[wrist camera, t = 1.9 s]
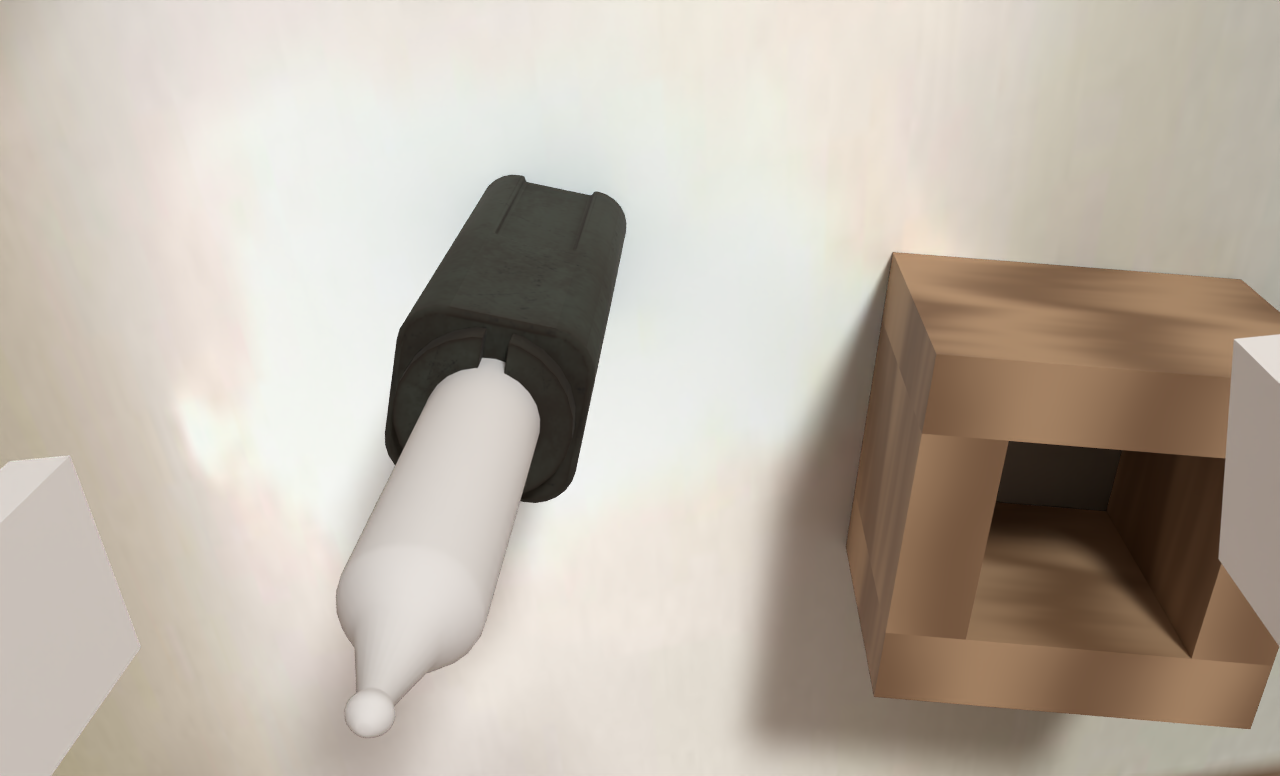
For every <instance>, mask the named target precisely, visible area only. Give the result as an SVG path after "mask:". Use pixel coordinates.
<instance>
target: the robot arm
mask: <svg viewBox="0 0 1280 776" xmlns="http://www.w3.org/2000/svg"><path fill="white" fill-rule="evenodd" d="M1218 559H1219V560H1220V562H1221V563H1222V565H1223V566H1224V568H1225V569H1226V570H1227V572H1228V573H1229V575H1230V576H1231V578H1232V579H1233V581H1234V582H1235V583H1236V585H1237V586H1238V588H1239V589H1240V591H1241V592H1242V594H1243V595H1244V596H1245V598H1246V599H1247V601H1248V602H1249V604H1250V605H1251V607H1252V608H1253V609H1254V611H1255V612H1256V614H1257V615H1258V617H1259V618H1260V619H1261V621H1262V622H1263V624H1264V625H1265V627H1266V628H1267V630H1268V631H1269V632H1270V634H1271V635H1272V637H1273V638H1274V640H1275V641H1276V643H1277V644H1278V645H1279V647H1280V334H1278V335H1268V336H1258V337H1248V338H1238V339H1234V344H1233V358H1232V372H1231V387H1230V401H1229V415H1228V429H1227V444H1226V458H1225V472H1224V486H1223V501H1222V515H1221V529H1220V543H1219V558H1218ZM140 648H141V646H140V643H139V641H138V638H137V635H136V632H135V630H134V627H133V624H132V622H131V619H130V616H129V613H128V611H127V608H126V605H125V603H124V600H123V597H122V594H121V592H120V589H119V586H118V584H117V581H116V578H115V575H114V573H113V570H112V567H111V565H110V562H109V559H108V556H107V554H106V551H105V548H104V546H103V543H102V540H101V537H100V535H99V532H98V529H97V527H96V524H95V521H94V518H93V516H92V513H91V510H90V508H89V505H88V502H87V499H86V497H85V494H84V491H83V489H82V486H81V483H80V480H79V478H78V475H77V472H76V470H75V467H74V464H73V461H72V459H71V456H70V455H68V456H58V457H48V458H38V459H28V460H18V461H9V462H8V463H7V464H6V465H5V466H3V467H2V468H1V469H0V776H51V775H52V774H53V772H54V771H55V769H56V768H57V767H58V765H59V764H60V762H61V761H62V759H63V758H64V757H65V755H66V754H67V752H68V751H69V749H70V748H71V747H72V745H73V744H74V742H75V741H76V739H77V738H78V737H79V735H80V734H81V732H82V731H83V729H84V728H85V727H86V725H87V724H88V722H89V721H90V719H91V718H92V716H93V715H94V714H95V712H96V711H97V709H98V708H99V706H100V705H101V704H102V702H103V701H104V699H105V698H106V696H107V695H108V694H109V692H110V691H111V689H112V688H113V686H114V685H115V684H116V682H117V681H118V679H119V678H120V676H121V675H122V674H123V672H124V671H125V669H126V668H127V666H128V665H129V664H130V662H131V661H132V659H133V658H134V656H135V655H136V653H137V652H138V651H139V649H140Z"/></svg>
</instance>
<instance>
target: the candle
mask: <svg viewBox="0 0 1280 776" xmlns="http://www.w3.org/2000/svg"><path fill="white" fill-rule="evenodd" d="M625 233H626V219H625V215H624V213H623V211H622V209H621V207H620V206H619V204H618V203H617V202H616V201H615V200H614V199H612V198H611V197H609V196H608V195H606V194H603V193H600V192H594V193H593V195H585V194H581V193H576V192H571V191H566V190H562V189H557V188H552V187H547V186H543V185H538V184H533V183H528V182H526V180H525V178H524V176H520V175H508V176H503V177H501V178H499V179H497V180H495V181H494V182H493V183H492V184H490V185H489V186H488V188H487V189H486V191H485V193H484V194H483V196H482V197H481V199H480V201H479V202H478V204H477V205H476V207H475V209H474V210H473V212H472V214H471V215H470V217H469V218H468V220H467V222H466V223H465V225H464V226H463V228H462V230H461V231H460V233H459V234H458V236H457V238H456V239H455V241H454V242H453V244H452V246H451V247H450V249H449V251H448V252H447V254H446V255H445V257H444V259H443V260H442V262H441V263H440V265H439V267H438V268H437V270H436V271H435V273H434V275H433V276H432V278H431V280H430V281H429V283H428V284H427V286H426V288H425V289H424V291H423V292H422V294H421V296H420V297H419V299H418V300H417V302H416V304H415V305H414V307H413V309H412V310H411V312H410V313H409V315H408V317H407V318H406V320H405V321H404V323H403V325H402V326H401V328H400V330H399V333H398V337H397V342H396V350H395V358H394V366H393V374H392V381H391V389H390V397H389V405H388V413H387V421H386V429H385V445H386V449H387V452H388V455H389V457H390V458H391V460H392V461H393V463H394V464H395V467H394V469H393V471H392V473H391V475H390V477H389V479H388V481H387V483H386V485H385V487H384V489H383V491H382V493H381V495H380V497H379V499H378V501H377V503H376V505H375V507H374V510H373V512H372V514H371V516H370V518H369V520H368V522H367V524H366V526H365V528H364V530H363V532H362V534H361V536H360V538H359V540H358V542H357V544H356V546H355V548H354V550H353V552H352V554H351V556H350V558H349V560H348V562H347V564H346V566H345V568H344V570H343V572H342V574H341V577H340V581H339V584H338V588H337V592H336V608H337V615H338V618H339V621H340V623H341V626H342V629H343V631H344V632H345V634H346V636H347V638H348V639H349V641H350V642H351V643H352V645H353V646H354V648H355V668H356V692H357V693H356V694H355V695H353V696H352V697H351V698H350V699H349V701H348V702H347V704H346V707H345V710H344V712H345V721H346V724H347V725H348V727H349V728H350V729H351V731H353V732H354V733H355V734H356V735H358V736H360V737H363V738H374V737H378V736H381V735H383V734H384V733H386V732H387V731H388V730H389V729H390V728H391V726H392V725H393V722H394V719H395V708H394V706H395V705H396V704H397V703H398V702H399V701H400V700H401V699H402V698H403V697H404V696H405V694H406V693H407V692H408V691H409V690H410V689H411V688H412V687H413V686H414V685H415V684H416V683H417V682H418V681H419V680H420V679H421V678H422V677H423V676H424V675H425V674H426V673H429V672H432V671H434V670H437V669H440V668H442V667H445V666H448V665H450V664H453V663H455V662H456V661H458V660H459V659H460V658H462V657H463V656H464V655H466V654H467V653H468V652H469V651H470V649H471V648H472V647H473V645H474V644H475V643H476V641H477V640H478V639H479V637H480V636H481V634H482V631H483V628H484V625H485V622H486V619H487V616H488V612H489V609H490V605H491V602H492V598H493V595H494V591H495V588H496V584H497V581H498V577H499V574H500V570H501V566H502V563H503V559H504V556H505V552H506V549H507V545H508V542H509V538H510V535H511V531H512V528H513V524H514V521H515V517H516V514H517V510H518V507H519V503H520V501H522V502H531V503H537V502H544V501H548V500H550V499H553V498H555V497H557V496H558V495H560V494H561V493H562V492H564V491H565V490H566V489H567V487H568V486H569V485H570V483H571V482H572V480H573V477H574V475H575V472H576V467H577V463H578V458H579V453H580V448H581V444H582V439H583V434H584V429H585V425H586V420H587V415H588V411H589V406H590V401H591V396H592V392H593V387H594V382H595V377H596V373H597V368H598V363H599V358H600V354H601V349H602V344H603V339H604V335H605V330H606V325H607V320H608V316H609V311H610V306H611V301H612V297H613V292H614V287H615V282H616V277H617V272H618V267H619V262H620V258H621V253H622V248H623V243H624V238H625Z"/></svg>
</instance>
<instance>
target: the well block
mask: <svg viewBox="0 0 1280 776" xmlns="http://www.w3.org/2000/svg"><path fill="white" fill-rule="evenodd" d="M1278 334H1280V312H1279V311H1278V310H1276V309H1275V308H1274V307H1273V306H1272V305H1270V304H1269V303H1268V302H1267V301H1266V300H1265V299H1263V298H1262V297H1261V296H1260V295H1259V294H1258V293H1256V292H1255V291H1254V290H1253V289H1252V288H1251V287H1249V286H1248V285H1247V284H1246V283H1245V282H1244V281H1242V280H1240V279H1227V278H1214V277H1201V276H1189V275H1176V274H1163V273H1150V272H1138V271H1125V270H1112V269H1099V268H1087V267H1074V266H1061V265H1048V264H1036V263H1023V262H1010V261H997V260H985V259H972V258H959V257H946V256H934V255H921V254H908V253H896V252H893V255H892V261H891V267H890V273H889V280H888V286H887V292H886V298H885V305H884V311H883V317H882V323H881V330H880V336H879V342H878V348H877V355H876V361H875V367H874V373H873V380H872V386H871V392H870V399H869V405H868V411H867V417H866V424H865V430H864V436H863V442H862V449H861V455H860V461H859V467H858V474H857V480H856V486H855V492H854V499H853V505H852V511H851V518H850V524H849V530H848V536H847V543H846V550H847V555H848V561H849V566H850V571H851V577H852V582H853V587H854V593H855V598H856V603H857V609H858V614H859V619H860V625H861V630H862V635H863V641H864V646H865V651H866V657H867V662H868V667H869V673H870V678H871V683H872V689H873V694H874V697H883V698H895V699H906V700H918V701H930V702H941V703H953V704H964V705H976V706H988V707H999V708H1011V709H1022V710H1034V711H1046V712H1057V713H1069V714H1080V715H1092V716H1104V717H1115V718H1127V719H1138V720H1150V721H1162V722H1173V723H1185V724H1196V725H1208V726H1220V727H1231V728H1243V729H1251V726H1252V723H1253V720H1254V717H1255V714H1256V711H1257V709H1258V706H1259V703H1260V700H1261V697H1262V694H1263V691H1264V689H1265V686H1266V683H1267V680H1268V677H1269V674H1270V671H1271V669H1272V666H1273V663H1274V660H1275V657H1276V654H1277V651H1278V649H1279V645H1278V644H1277V643H1276V641H1275V640H1274V638H1273V637H1272V635H1271V634H1270V632H1269V631H1268V630H1267V628H1266V627H1265V625H1264V624H1263V622H1262V621H1261V619H1260V618H1259V617H1258V615H1257V614H1256V612H1255V611H1254V609H1253V608H1252V607H1251V605H1250V604H1249V602H1248V601H1247V599H1246V598H1245V596H1244V595H1243V594H1242V592H1241V591H1240V589H1239V588H1238V586H1237V585H1236V583H1235V582H1234V581H1233V579H1232V578H1231V576H1230V575H1229V573H1228V572H1227V570H1226V569H1225V568H1224V566H1223V565H1222V563H1221V562H1220V560H1219V559H1218V558H1219V543H1220V529H1221V515H1222V501H1223V486H1224V472H1225V458H1226V444H1227V429H1228V415H1229V401H1230V387H1231V372H1232V358H1233V344H1234V339H1238V338H1248V337H1258V336H1268V335H1278ZM1009 441H1018V442H1030V443H1042V444H1054V445H1067V446H1079V447H1091V448H1103V449H1116V450H1122V453H1121V457H1120V461H1119V464H1118V468H1117V472H1116V476H1115V480H1114V484H1113V487H1112V491H1111V495H1110V499H1109V503H1108V506H1107V510H1106V511H1097V510H1085V509H1073V508H1060V507H1048V506H1036V505H1024V504H1012V503H1000V502H996V498H997V493H998V489H999V484H1000V479H1001V475H1002V470H1003V466H1004V461H1005V456H1006V452H1007V447H1008V443H1009Z"/></svg>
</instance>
